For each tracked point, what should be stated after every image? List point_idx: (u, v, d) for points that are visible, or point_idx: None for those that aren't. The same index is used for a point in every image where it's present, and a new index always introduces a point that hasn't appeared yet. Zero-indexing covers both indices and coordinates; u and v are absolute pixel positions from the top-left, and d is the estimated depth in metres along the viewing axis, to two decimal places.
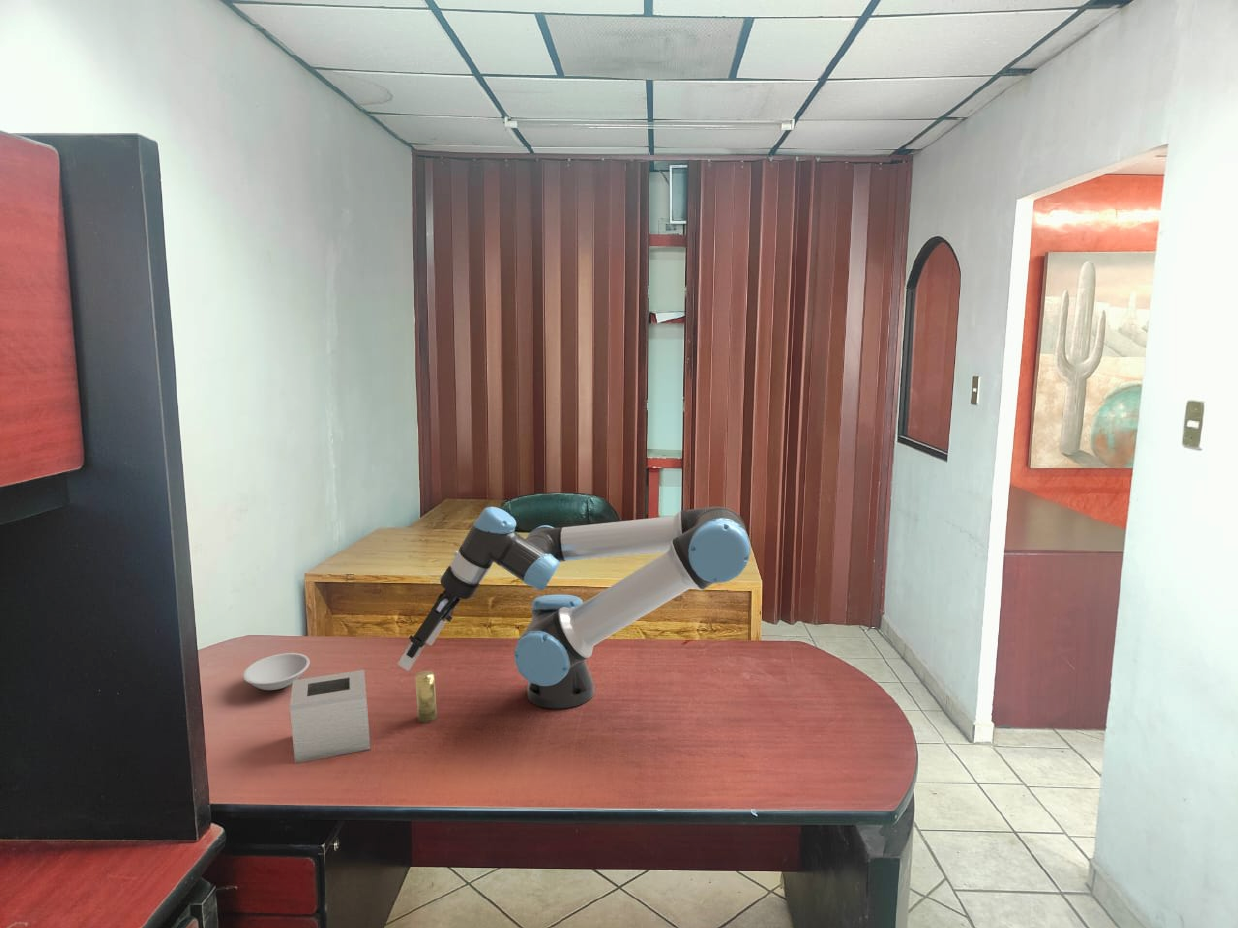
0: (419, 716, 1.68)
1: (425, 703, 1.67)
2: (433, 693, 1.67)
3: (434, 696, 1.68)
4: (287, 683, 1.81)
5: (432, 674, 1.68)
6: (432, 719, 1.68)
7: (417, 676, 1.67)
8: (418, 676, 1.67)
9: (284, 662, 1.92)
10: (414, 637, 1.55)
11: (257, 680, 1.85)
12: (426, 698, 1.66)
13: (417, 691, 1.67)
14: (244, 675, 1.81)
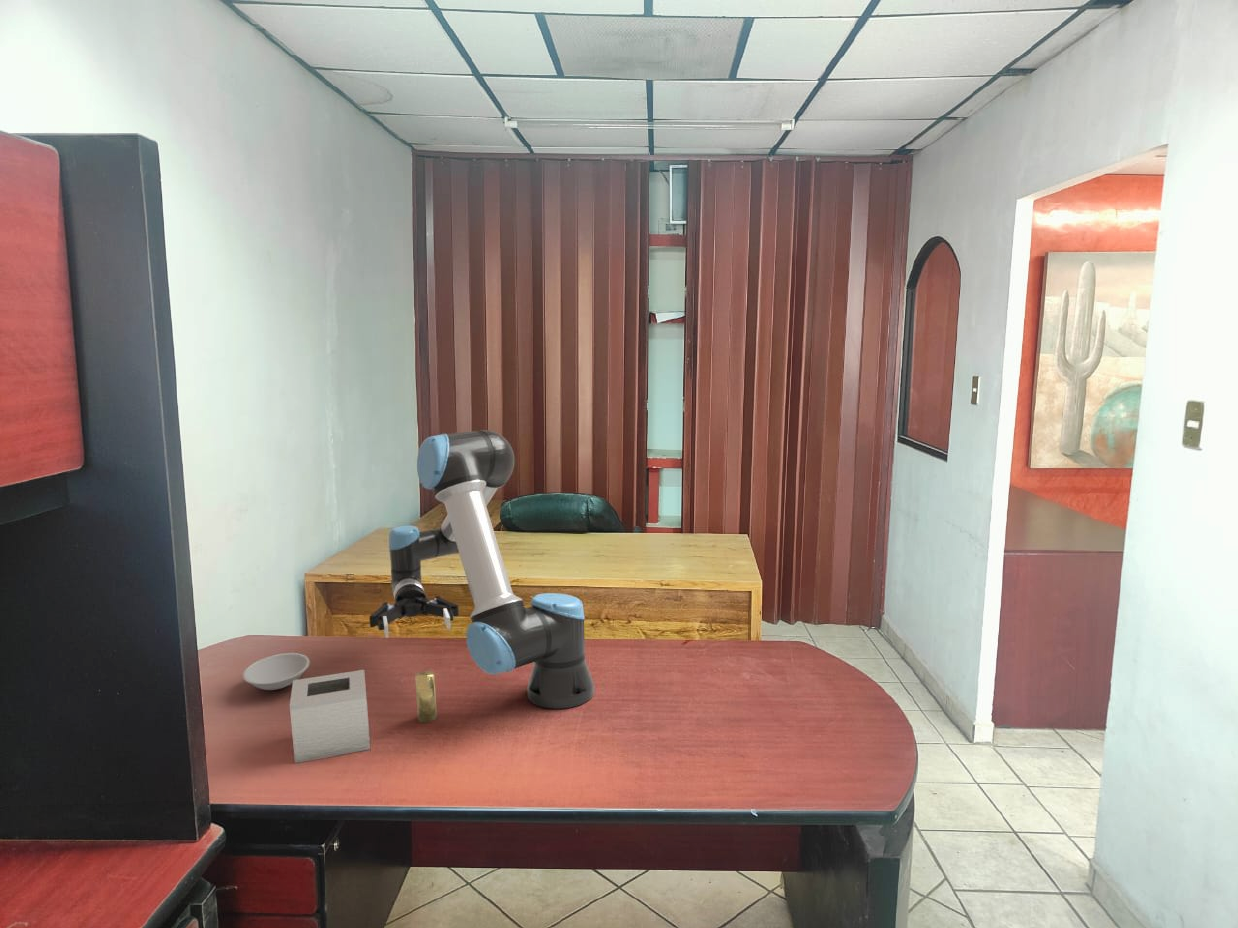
0: (419, 716, 1.68)
1: (425, 703, 1.67)
2: (433, 693, 1.67)
3: (434, 696, 1.68)
4: (287, 683, 1.81)
5: (432, 674, 1.68)
6: (432, 719, 1.68)
7: (417, 676, 1.67)
8: (418, 676, 1.67)
9: (284, 662, 1.92)
10: None
11: (257, 680, 1.85)
12: (426, 698, 1.66)
13: (417, 691, 1.67)
14: (244, 675, 1.81)
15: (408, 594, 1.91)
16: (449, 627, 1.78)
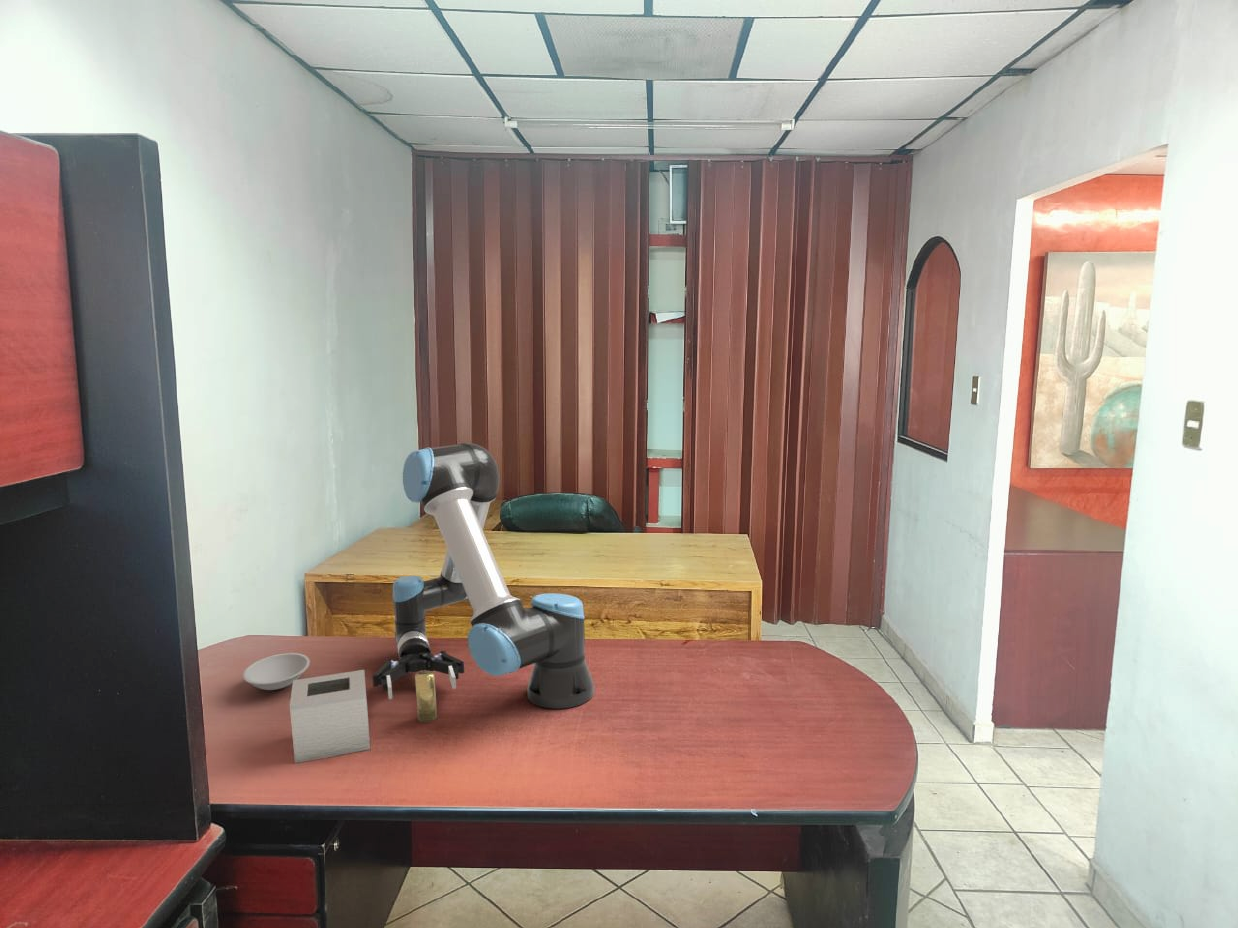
0: (419, 716, 1.68)
1: (425, 703, 1.67)
2: (433, 693, 1.67)
3: (434, 696, 1.68)
4: (287, 683, 1.81)
5: (432, 674, 1.68)
6: (432, 719, 1.68)
7: (417, 676, 1.67)
8: (418, 676, 1.67)
9: (284, 662, 1.92)
10: None
11: (257, 680, 1.85)
12: (426, 698, 1.66)
13: (417, 691, 1.67)
14: (244, 675, 1.81)
15: (412, 649, 1.86)
16: (454, 687, 1.73)
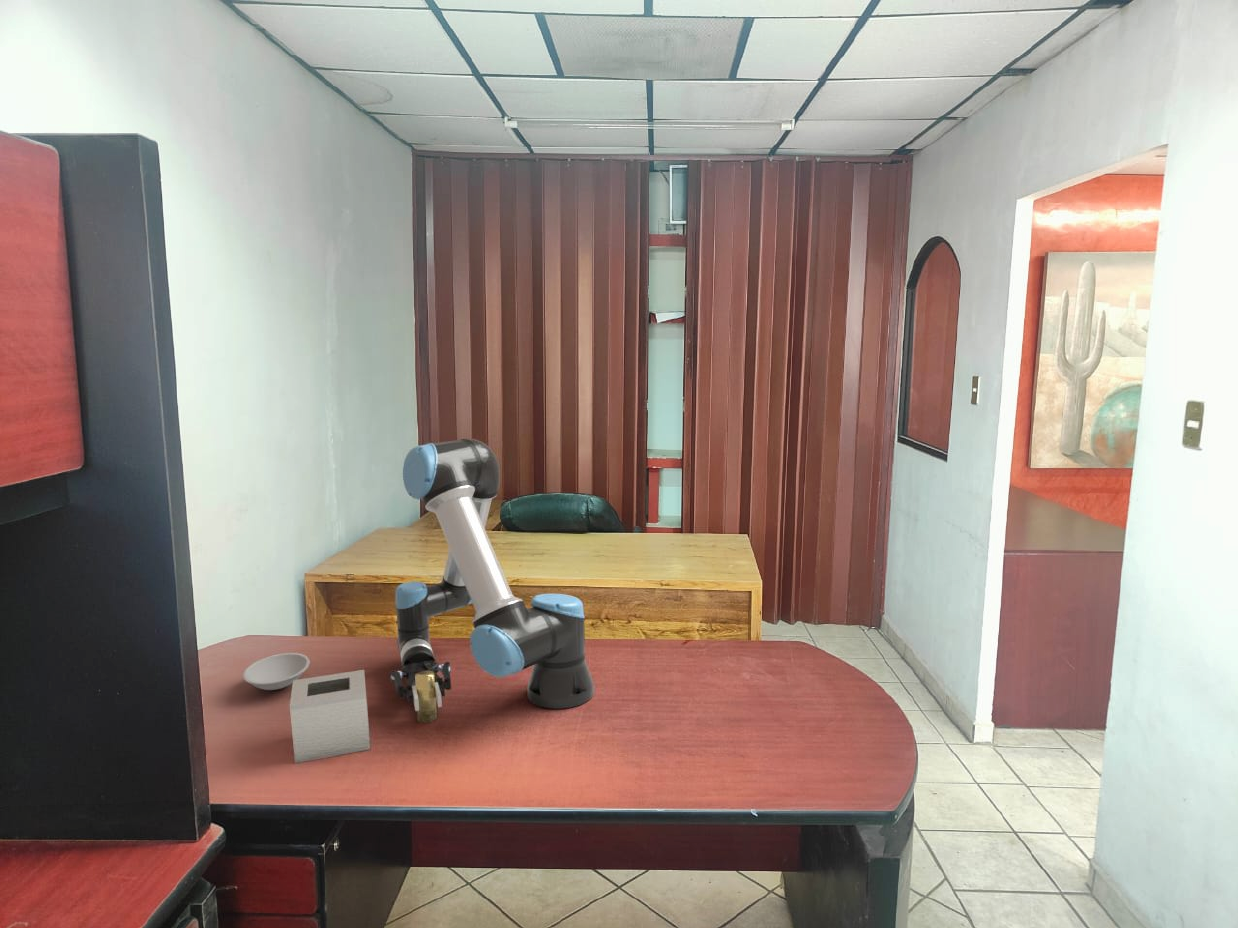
0: (419, 716, 1.68)
1: (425, 703, 1.67)
2: (433, 693, 1.67)
3: (434, 696, 1.68)
4: (287, 683, 1.81)
5: (432, 674, 1.68)
6: (432, 719, 1.68)
7: (417, 676, 1.67)
8: (418, 676, 1.67)
9: (284, 662, 1.92)
10: (398, 694, 1.69)
11: (257, 680, 1.85)
12: (426, 698, 1.66)
13: (417, 691, 1.67)
14: (244, 675, 1.81)
15: (416, 657, 1.81)
16: (440, 705, 1.64)
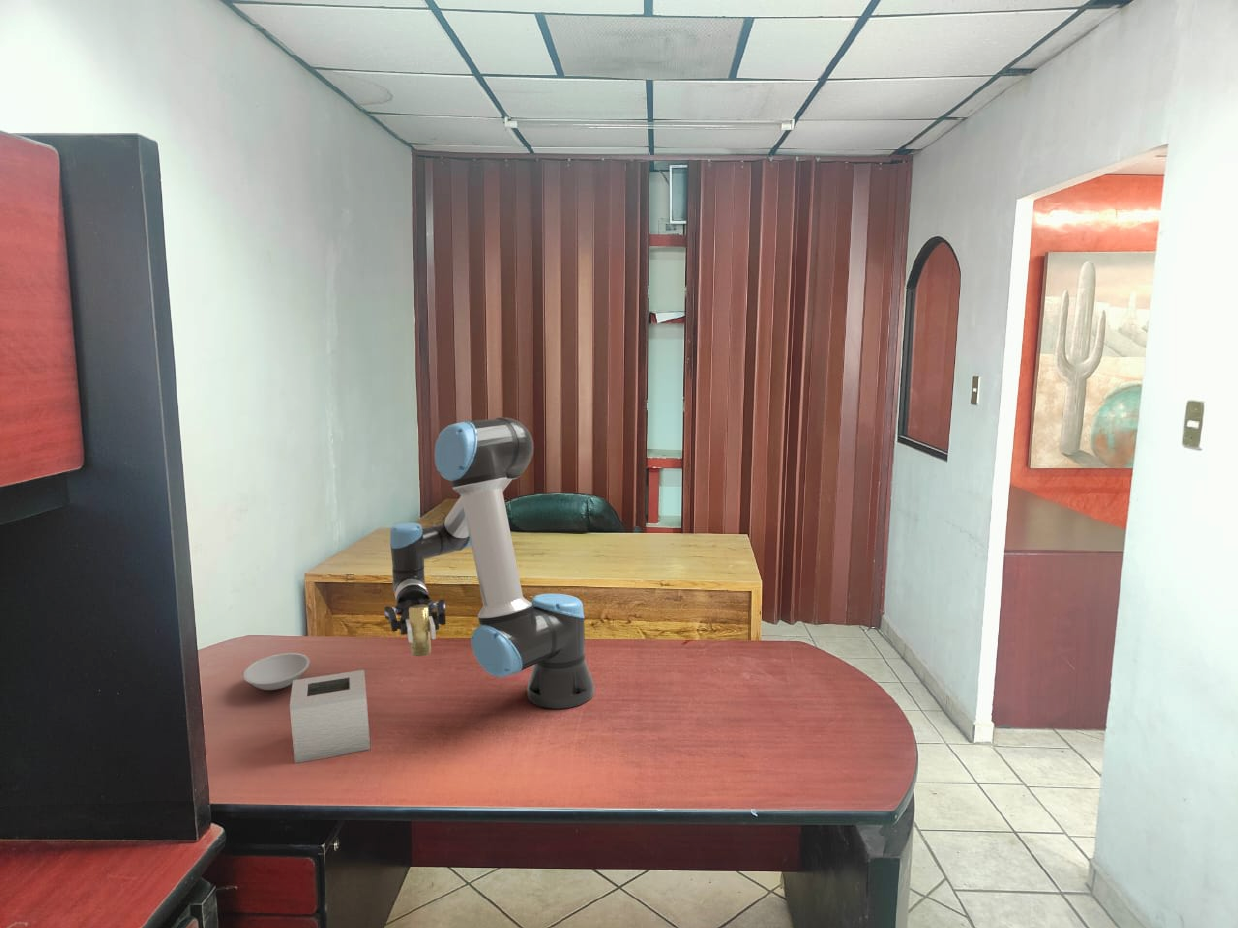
0: (413, 650, 1.65)
1: (419, 636, 1.64)
2: (427, 626, 1.65)
3: (428, 630, 1.66)
4: (287, 683, 1.81)
5: (426, 607, 1.65)
6: (426, 653, 1.65)
7: (411, 609, 1.64)
8: (412, 609, 1.64)
9: (284, 662, 1.92)
10: (391, 628, 1.67)
11: (257, 680, 1.85)
12: (420, 631, 1.64)
13: (411, 624, 1.64)
14: (244, 675, 1.81)
15: (410, 595, 1.78)
16: (434, 637, 1.62)
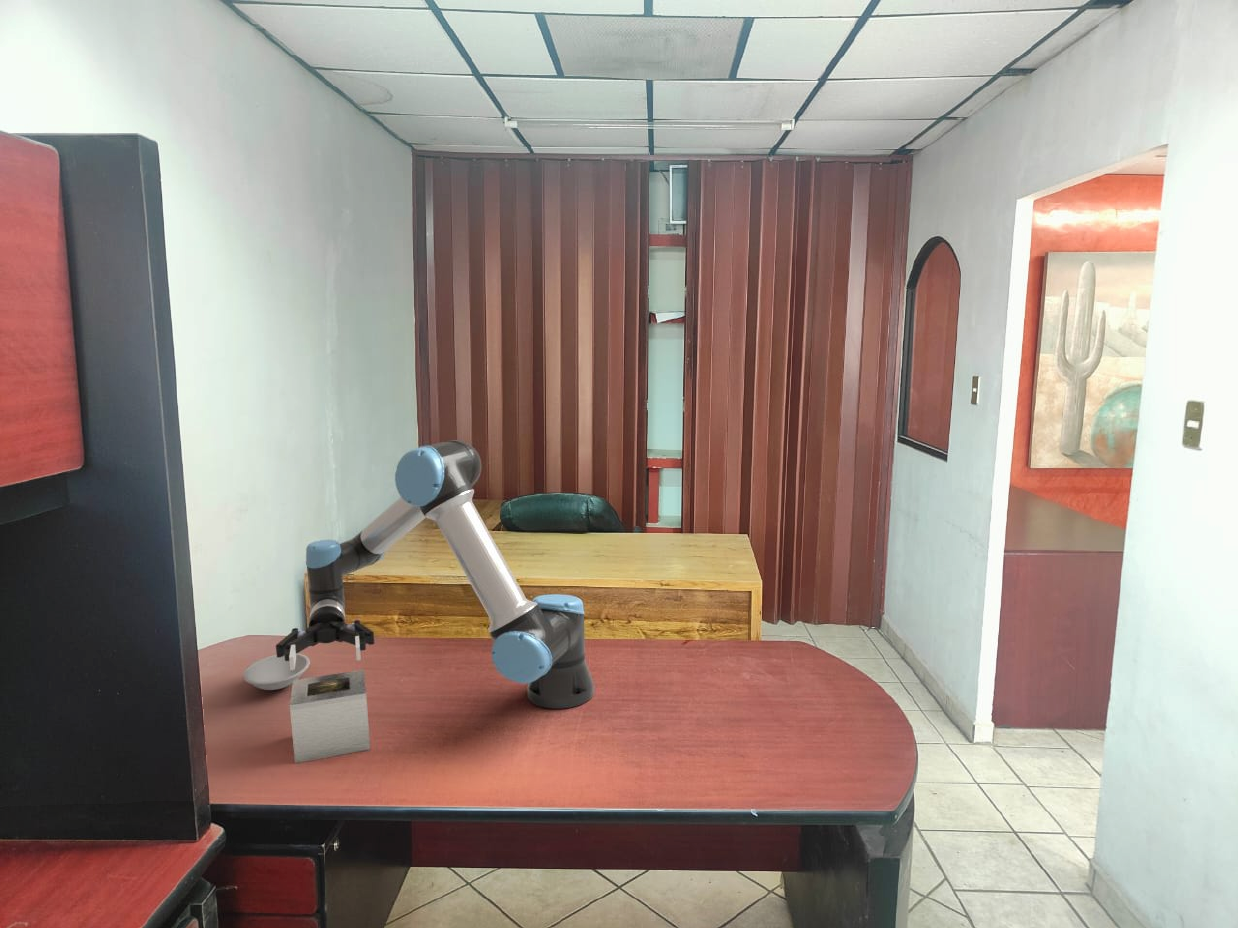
0: None
1: None
2: None
3: None
4: (287, 683, 1.81)
5: None
6: None
7: None
8: None
9: (284, 662, 1.92)
10: None
11: (257, 680, 1.85)
12: None
13: None
14: (244, 675, 1.81)
15: (323, 617, 1.69)
16: (359, 658, 1.56)
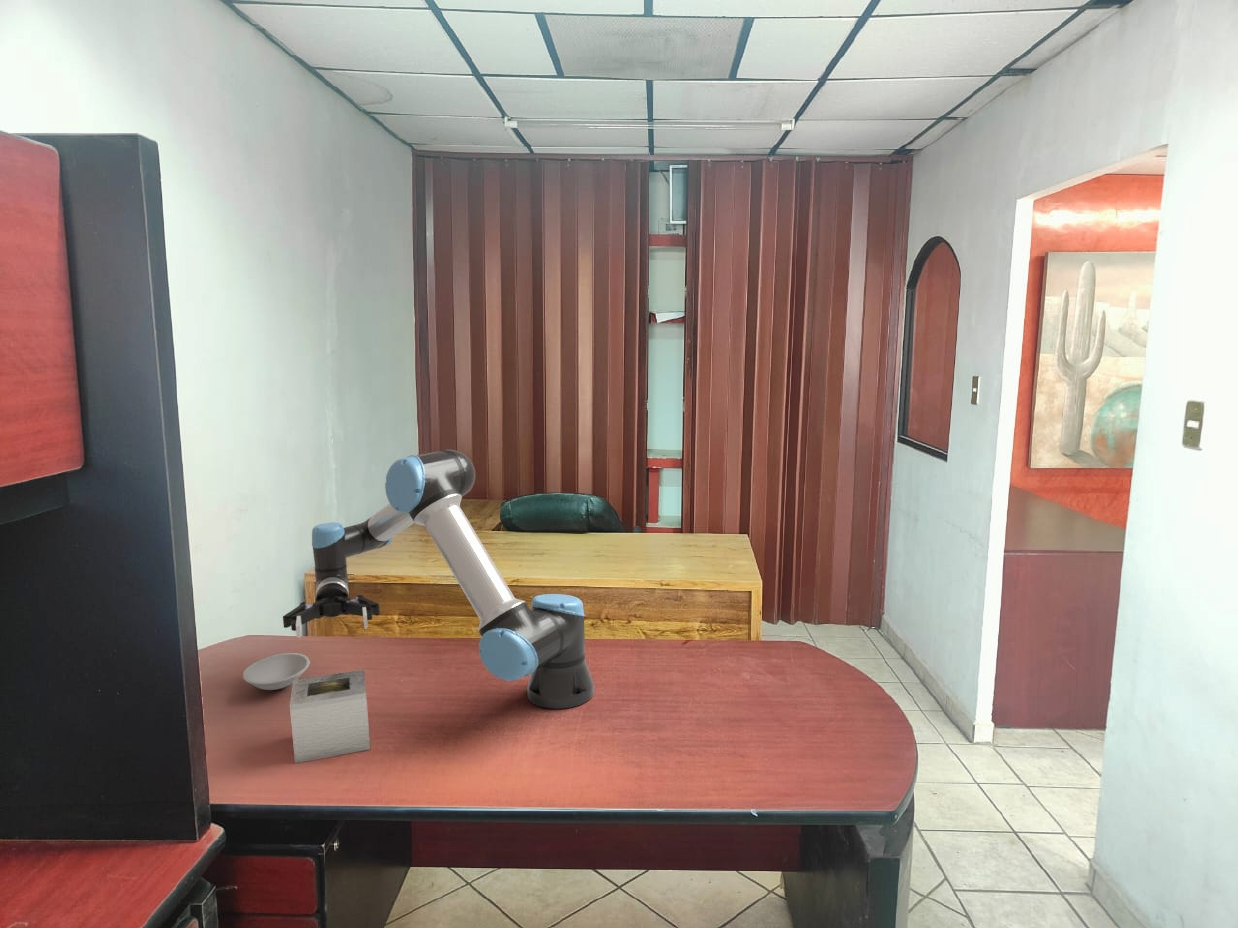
0: None
1: None
2: None
3: None
4: (287, 683, 1.81)
5: None
6: None
7: None
8: None
9: (284, 662, 1.92)
10: None
11: (257, 680, 1.85)
12: None
13: None
14: (244, 675, 1.81)
15: (328, 593, 1.83)
16: (366, 626, 1.70)
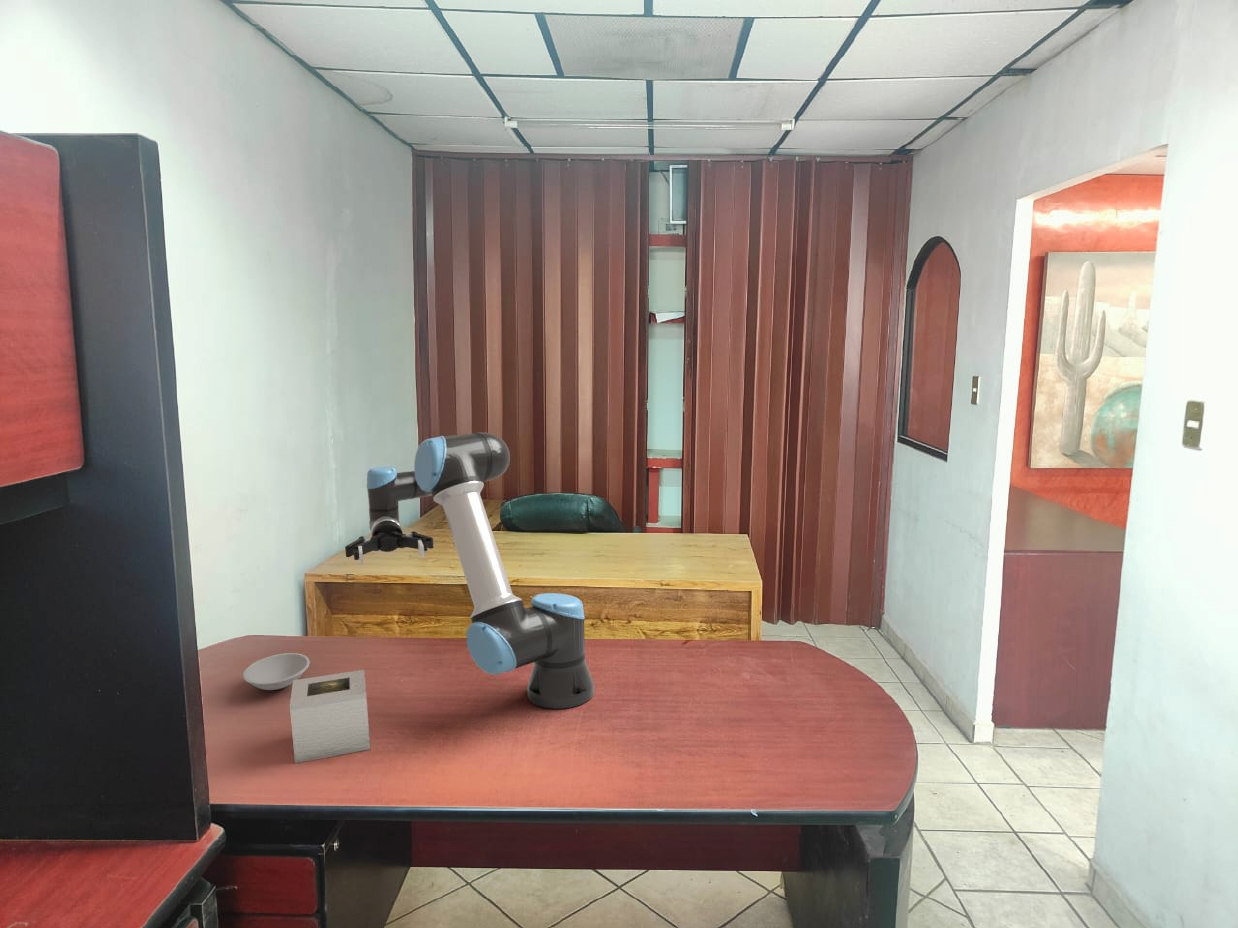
0: None
1: None
2: None
3: None
4: (287, 683, 1.81)
5: None
6: None
7: None
8: None
9: (284, 662, 1.92)
10: None
11: (257, 680, 1.85)
12: None
13: None
14: (244, 675, 1.81)
15: (384, 529, 1.96)
16: (423, 556, 1.82)
